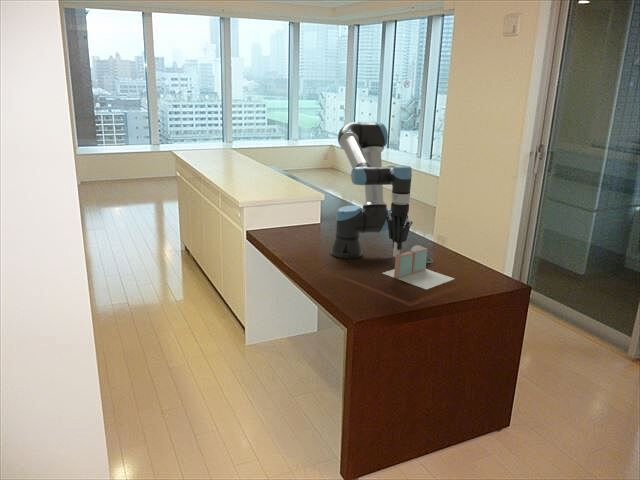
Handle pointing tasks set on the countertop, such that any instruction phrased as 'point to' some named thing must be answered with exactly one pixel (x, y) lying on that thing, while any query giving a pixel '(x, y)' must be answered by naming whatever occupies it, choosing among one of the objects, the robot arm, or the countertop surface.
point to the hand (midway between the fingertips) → (396, 256)
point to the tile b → (419, 260)
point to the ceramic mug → (421, 247)
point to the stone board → (423, 278)
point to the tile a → (403, 265)
